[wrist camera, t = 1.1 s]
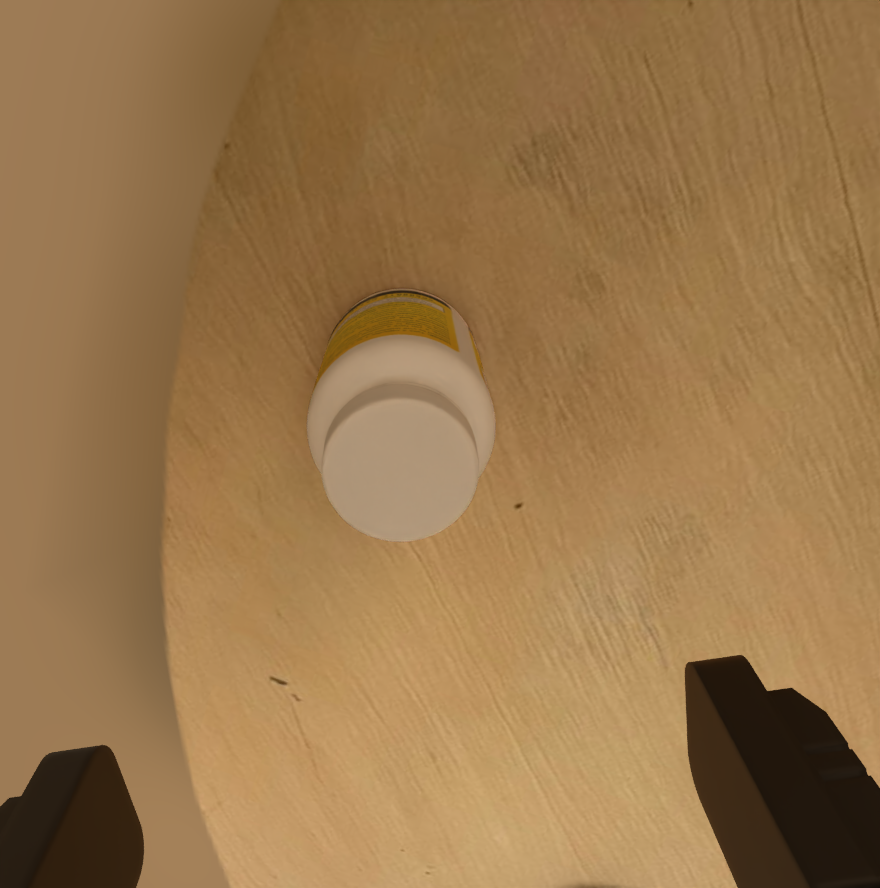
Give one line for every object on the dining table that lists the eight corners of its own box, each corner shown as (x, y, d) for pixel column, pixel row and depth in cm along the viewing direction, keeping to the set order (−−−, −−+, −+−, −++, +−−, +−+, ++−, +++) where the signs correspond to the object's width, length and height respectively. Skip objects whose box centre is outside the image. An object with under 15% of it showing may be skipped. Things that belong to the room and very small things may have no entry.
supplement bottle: (295, 352, 29) (246, 459, 20) (411, 253, 28) (415, 321, 19) (393, 458, 31) (389, 602, 22) (507, 370, 30) (553, 483, 21)
